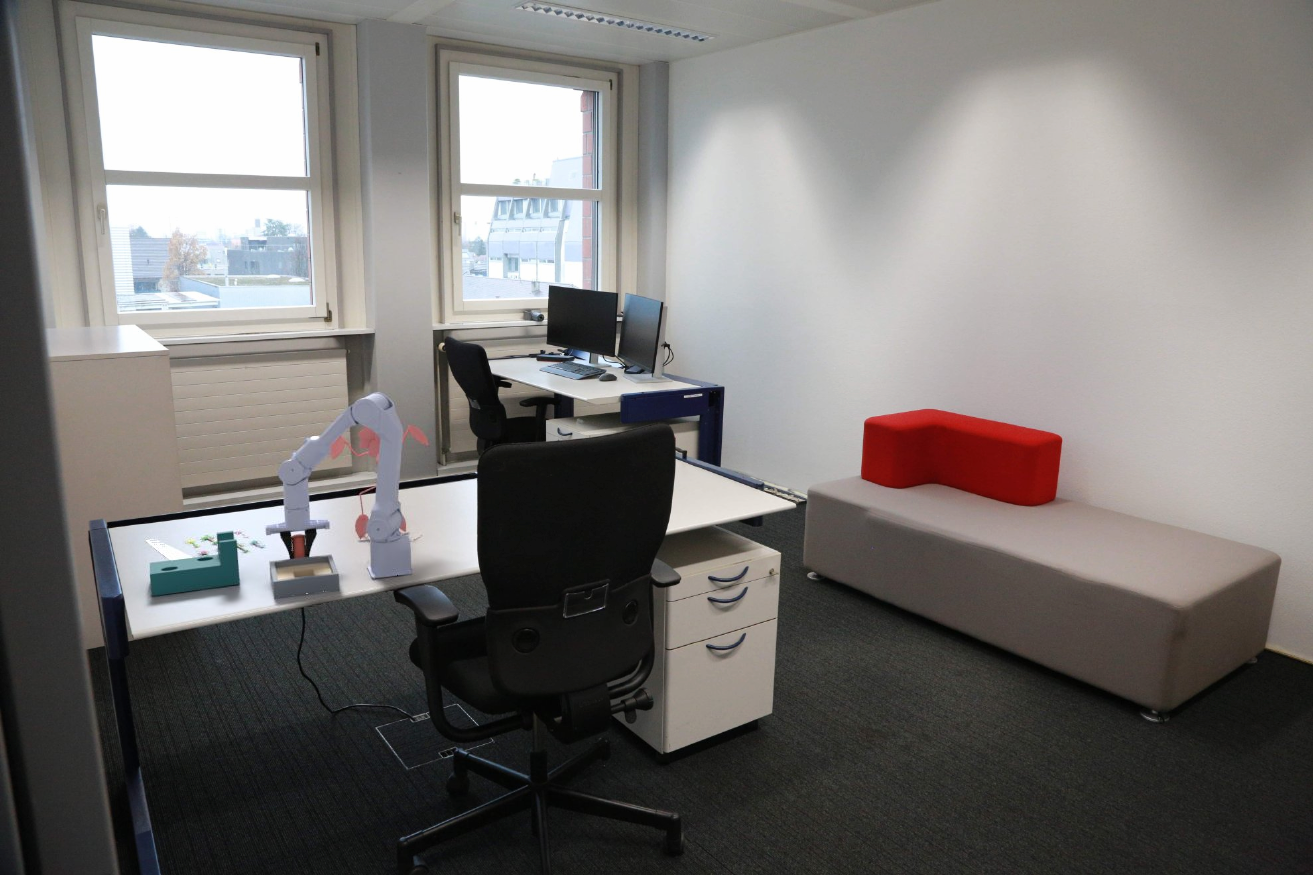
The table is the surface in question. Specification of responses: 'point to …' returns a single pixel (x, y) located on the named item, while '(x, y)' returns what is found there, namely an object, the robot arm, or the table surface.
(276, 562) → the box
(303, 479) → the robot arm
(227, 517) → the table surface
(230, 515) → the table surface
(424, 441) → the figurine
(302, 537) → the peg
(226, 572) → the teal l-shaped bracket
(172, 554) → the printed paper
